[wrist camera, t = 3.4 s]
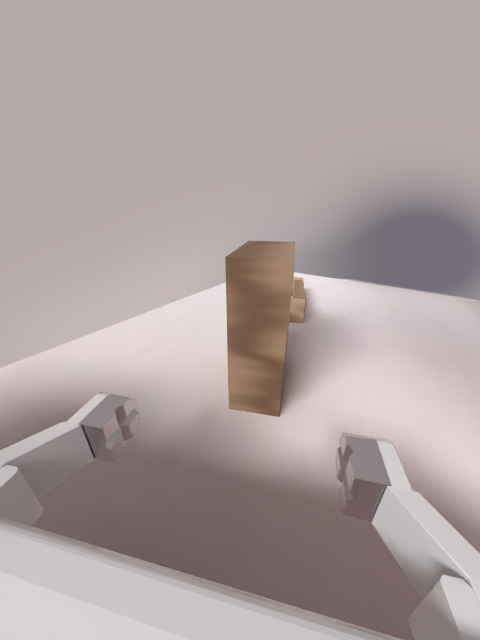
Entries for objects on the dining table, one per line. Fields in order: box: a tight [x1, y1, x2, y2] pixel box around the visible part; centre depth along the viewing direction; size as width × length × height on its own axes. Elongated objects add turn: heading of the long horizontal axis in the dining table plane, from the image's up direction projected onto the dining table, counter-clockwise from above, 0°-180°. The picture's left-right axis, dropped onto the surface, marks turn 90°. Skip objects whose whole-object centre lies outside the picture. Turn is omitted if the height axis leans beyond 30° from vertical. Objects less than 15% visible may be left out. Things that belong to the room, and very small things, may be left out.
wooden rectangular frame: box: [289, 277, 305, 323], centre depth 40 cm, size 8×13×3 cm, turn 168°
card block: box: [226, 241, 295, 417], centre depth 20 cm, size 4×8×12 cm, turn 168°
